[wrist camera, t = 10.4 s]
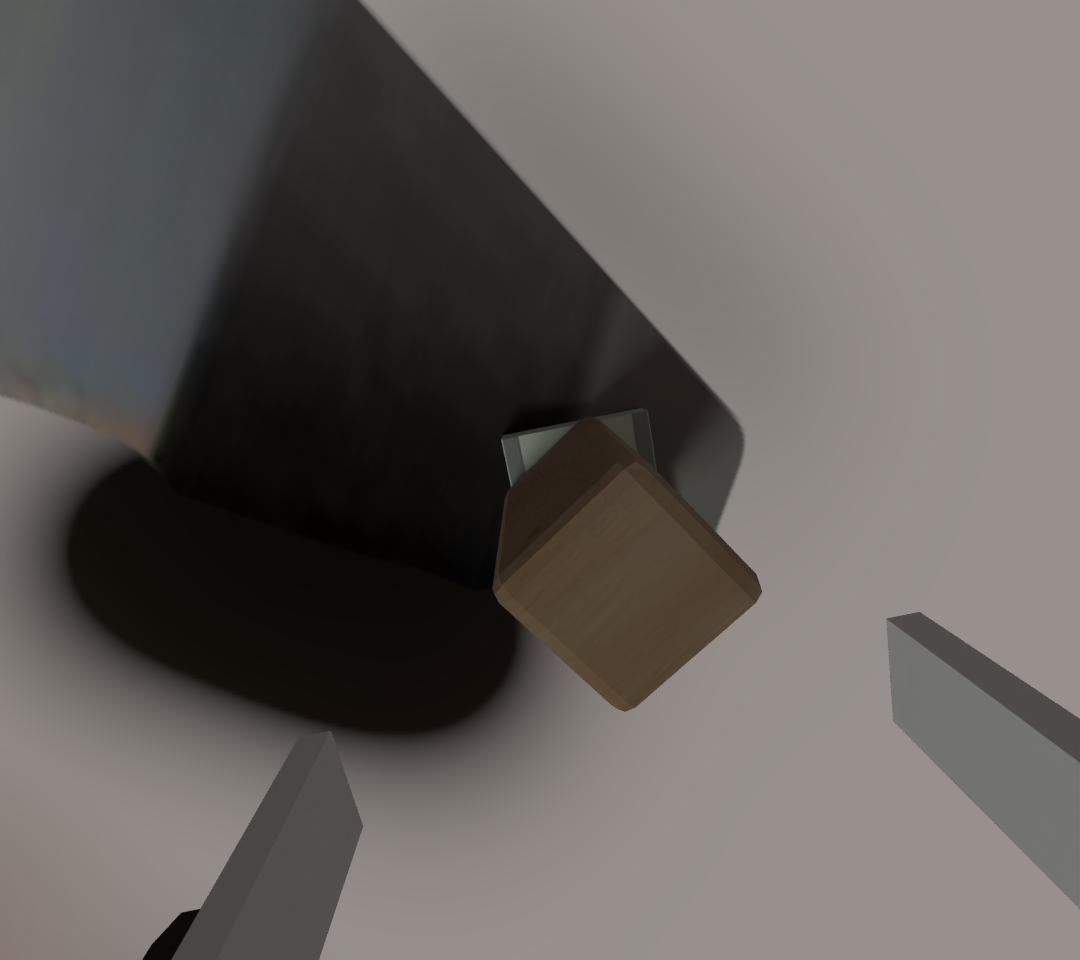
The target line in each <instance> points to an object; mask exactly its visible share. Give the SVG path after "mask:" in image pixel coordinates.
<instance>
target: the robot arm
mask: <svg viewBox="0 0 1080 960" xmlns="http://www.w3.org/2000/svg"><path fill="white" fill-rule="evenodd" d="M886 620H887V635H888V650H889V665H890V681H891V696H892V712H893V721H894V722H895V723H896V724H897V725H898V726H899V727H900V728H901V729H902V730H903V731H904V732H905V733H906V734H907V735H908V736H909V737H910V738H911V739H912V740H913V741H914V742H915V743H916V744H917V745H918V746H919V747H920V748H921V750H923V752H925V753H926V754H927V755H928V757H929V758H930V759H931V760H933V762H934V763H936V764H937V766H938V767H939V768H940V769H941V770H942V771H943V772H944V773H945V774H946V775H947V776H948V777H949V778H950V779H951V780H952V781H953V782H954V783H955V784H956V785H957V786H958V787H959V788H960V789H961V790H962V791H963V792H965V794H966V795H967V796H968V797H969V798H970V799H971V800H972V801H973V802H974V803H975V804H976V805H977V806H978V807H979V808H980V809H981V810H982V811H983V812H984V813H985V814H986V815H987V816H988V817H989V818H990V819H991V820H992V821H993V822H994V823H995V824H996V825H997V826H998V827H999V828H1000V829H1001V830H1002V831H1003V832H1004V833H1005V834H1006V835H1007V836H1008V837H1009V838H1010V839H1011V840H1012V841H1013V842H1014V843H1015V844H1016V845H1017V846H1018V847H1019V848H1020V849H1021V850H1022V851H1023V852H1024V853H1025V854H1026V855H1027V856H1028V857H1029V858H1030V859H1031V860H1032V861H1033V862H1034V863H1035V864H1036V865H1037V866H1038V867H1039V868H1040V869H1041V870H1042V871H1043V872H1044V873H1045V874H1046V875H1047V876H1048V877H1049V878H1050V879H1051V880H1052V881H1053V882H1054V883H1055V885H1057V887H1058V888H1059V889H1060V890H1062V891H1063V893H1064V894H1065V895H1066V896H1067V897H1069V898H1070V900H1071V901H1072V902H1073V903H1074V904H1075V905H1076V906H1077V907H1078V908H1079V909H1080V719H1079V718H1078V717H1076V716H1075V715H1073V714H1071V713H1070V712H1069V711H1067V710H1066V709H1064V708H1063V707H1061V706H1060V705H1058V704H1057V703H1055V702H1054V701H1052V700H1051V699H1049V698H1048V697H1046V696H1045V695H1043V694H1042V693H1040V692H1039V691H1037V690H1036V689H1034V688H1033V687H1031V686H1030V685H1028V684H1027V683H1025V682H1024V681H1022V680H1021V679H1019V678H1018V677H1016V676H1015V675H1013V674H1012V673H1010V672H1009V671H1007V670H1005V669H1004V668H1003V667H1001V666H1000V665H998V664H997V663H995V662H994V661H992V660H991V659H989V658H988V657H986V656H985V655H983V654H982V653H980V652H979V651H977V650H975V649H974V648H973V647H971V646H970V645H968V644H966V643H965V642H964V641H962V640H961V639H959V638H958V637H956V636H955V635H953V634H952V633H950V632H949V631H947V630H946V629H944V628H943V627H941V626H940V625H938V624H937V623H935V622H934V621H932V620H931V619H929V618H928V617H926V616H925V615H923V614H922V613H920V612H918V613H912V614H907V615H903V616H897V617H892V618H887V619H886ZM362 828H363V825H362V822H361V819H360V816H359V813H358V810H357V807H356V804H355V801H354V799H353V796H352V792H351V790H350V787H349V784H348V781H347V778H346V775H345V772H344V769H343V766H342V763H341V761H340V757H339V754H338V752H337V749H336V746H335V743H334V740H333V737H332V734H331V731H328V732H323V733H318V734H313V735H308V736H303V737H299V738H298V740H297V741H296V743H295V745H294V747H293V748H292V750H291V752H290V754H289V755H288V757H287V759H286V760H285V762H284V764H283V766H282V767H281V769H280V771H279V773H278V775H277V776H276V778H275V780H274V781H273V783H272V785H271V787H270V788H269V790H268V792H267V794H266V796H265V797H264V799H263V801H262V803H261V804H260V806H259V808H258V809H257V811H256V813H255V815H254V816H253V818H252V820H251V822H250V823H249V825H248V827H247V829H246V830H245V832H244V834H243V836H242V837H241V839H240V841H239V843H238V844H237V846H236V848H235V850H234V851H233V853H232V855H231V857H230V858H229V860H228V862H227V864H226V866H225V867H224V869H223V871H222V872H221V874H220V876H219V878H218V879H217V881H216V883H215V885H214V886H213V888H212V890H211V892H210V894H209V895H208V897H207V899H206V900H205V902H204V904H203V906H202V907H201V909H198V910H193V911H188V912H183V913H181V914H180V915H179V916H178V917H177V918H176V919H175V920H174V921H173V922H172V923H171V925H169V927H168V928H167V929H166V930H165V931H164V932H163V933H162V934H161V935H160V936H159V937H158V938H157V940H156V941H155V942H154V943H153V944H152V945H151V947H150V948H149V950H148V951H147V953H146V955H145V956H144V958H143V960H319V958H320V955H321V951H322V949H323V946H324V942H325V940H326V936H327V934H328V931H329V928H330V924H331V921H332V918H333V915H334V912H335V909H336V906H337V903H338V900H339V897H340V894H341V891H342V888H343V885H344V882H345V879H346V876H347V873H348V870H349V867H350V864H351V861H352V858H353V855H354V852H355V849H356V846H357V843H358V840H359V837H360V834H361V831H362Z"/></svg>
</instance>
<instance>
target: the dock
mask: <svg viewBox="0 0 1080 960" xmlns="http://www.w3.org/2000/svg"><path fill="white" fill-rule="evenodd" d="M594 418H597V419H599V420H600V421H601V422H602V423H603V424H605V425H606V426H607V427H608V428H609V429H610V430H612V431H613V432H614V433H615V434H616V435H617V436H619V437H620V438H621V439H622V440H623V441H624V442H626V443H627V444H628V445H629V446H630V447H631V448H633V449H634V450H635V451H636V452H637V453H638V454H640V455H641V456H642V457H643V458H644V459H645V460H647V461H648V462H649V463H650V464H651V465H652V466H653V467H654V468H655V470H656V471H657V468H656V462H655V455H654V448H653V442H652V435H651V428H650V422H649V415H648V411H647V410H645V409H643V408H639V409H634V410H629V411H623V412H618V413H613V414H608V415H603V416H598V417H594ZM578 421H579V420H578ZM578 421H573V422H568V423H562V424H557V425H552V426H547V427H542V428H537V429H532V430H527V431H522V432H517V433H512V434H507V435H502V439H501V441H502V445H503V450H504V455H505V460H506V464H507V469H508V474H509V478H510V483H511V487H512V486H513V485H514V484H515V483H516V482H517V481H518V480H519V479H520V478H521V477H522V476H523V475H524V474H525V473H526V472H527V471H528V470H529V469H530V468H531V467H532V466H533V465H534V464H536V463H537V462H538V461H539V460H540V459H541V458H542V457H543V456H544V455H545V454H546V453H547V452H548V451H549V450H550V449H551V448H552V447H553V446H554V445H555V444H556V443H557V442H558V441H559V440H560V439H561V438H562V437H563V436H564V435H565V434H566V433H567V432H568V431H569V430H570V429H571V428H572V427H573V426H574V425H575V424H576V423H577V422H578Z"/></svg>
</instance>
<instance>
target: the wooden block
mask: <svg viewBox="0 0 1080 960" xmlns="http://www.w3.org/2000/svg"><path fill="white" fill-rule="evenodd" d="M493 591H494V593H495V595H496V597H497V600H498V602H499V603H500V604H501V605H502V606H503V607H504V608H506V609H507V610H508V611H509V612H510V613H511V614H512V615H514V617H515V618H516V619H518V620H519V621H520V622H521V623H522V624H523V625H524V626H525V627H526V628H527V629H529V630H530V631H531V632H532V633H533V634H534V635H535V636H536V637H537V638H538V639H540V640H541V641H542V642H543V643H544V644H545V645H546V646H547V647H548V648H549V649H550V650H552V651H553V652H554V653H555V654H556V655H557V656H558V657H559V658H560V659H561V660H563V661H564V662H565V663H566V664H567V665H568V666H569V667H570V668H571V669H573V670H574V671H575V672H576V673H577V674H578V675H579V676H580V677H581V678H582V679H583V680H585V681H586V682H587V683H588V684H589V685H590V686H591V687H592V688H593V689H594V690H595V691H597V692H598V693H599V694H600V695H601V696H602V697H603V698H604V699H605V700H606V701H608V702H609V703H610V704H611V705H613V706H614V707H615V708H617V709H620V710H622V711H624V712H625V711H628V710H630V709H632V708H635V707H636V706H638V705H639V704H640V703H641V702H642V701H643V700H644V699H646V698H647V697H648V696H649V695H650V694H651V693H652V692H654V691H655V690H656V689H657V688H658V687H659V686H660V685H662V684H663V683H664V682H665V681H666V680H667V679H669V678H670V677H671V676H672V675H673V674H674V673H676V672H677V671H678V670H679V669H680V668H681V667H682V666H684V665H685V664H686V663H687V662H688V661H689V660H691V658H693V657H694V656H695V655H696V654H697V653H698V652H700V651H701V650H702V649H703V648H704V647H706V646H707V645H708V644H709V643H710V642H711V641H712V640H714V639H715V638H716V637H717V636H718V635H719V634H720V633H722V632H723V631H724V630H725V629H726V628H727V627H728V626H730V625H731V624H732V623H733V622H734V621H735V620H736V619H738V618H739V617H740V616H741V615H742V614H744V613H745V612H746V611H747V610H748V609H749V608H750V607H752V606H753V605H754V604H755V603H756V602H757V600H758V598H759V596H760V595H761V593H762V590H761V587H760V584H759V581H758V578H757V575H756V573H755V572H754V571H753V570H752V569H751V568H750V567H749V566H748V565H747V564H746V563H745V562H744V561H743V560H742V559H741V558H740V557H739V556H738V555H737V554H736V553H735V552H734V551H733V550H732V549H731V547H729V545H727V543H726V542H725V541H724V540H723V539H722V538H721V537H720V536H719V535H718V534H717V533H716V532H715V531H714V530H713V529H712V528H711V527H710V526H709V525H708V524H707V522H706V521H705V520H704V519H703V518H702V517H701V516H700V515H699V514H698V513H697V512H696V511H695V510H694V509H693V508H692V507H691V506H690V505H689V504H688V503H687V502H686V501H685V500H684V499H683V498H682V497H681V495H680V494H679V493H678V492H677V491H676V490H675V489H674V488H673V487H672V486H671V485H670V484H669V483H668V482H667V481H666V480H665V479H664V478H663V477H662V476H661V475H660V474H659V473H658V472H657V471H656V470H655V468H654V467H653V466H652V465H651V464H650V463H649V462H648V461H647V460H645V459H644V458H643V457H642V456H641V455H640V454H638V453H637V452H636V451H635V450H634V449H633V448H631V447H630V446H629V445H628V444H627V443H626V442H624V441H623V440H622V439H621V438H620V437H619V436H617V435H616V434H615V433H614V432H613V431H612V430H610V429H609V428H608V427H607V426H606V425H605V424H603V423H602V422H601V421H600V420H599V419H597V418H594V417H592V416H587V417H585V418H583V419H580V420H579V421H578V422H577V423H576V424H575V425H574V426H573V427H572V428H571V429H570V430H569V431H568V432H567V433H566V434H565V435H564V436H563V437H562V438H561V439H560V440H559V441H558V442H557V443H556V444H555V445H554V446H553V447H552V448H551V449H550V450H549V451H548V452H547V453H546V454H545V455H544V456H543V457H542V458H541V459H540V460H539V461H538V462H537V463H536V464H534V465H533V466H532V467H531V468H530V469H529V470H528V471H527V472H526V473H525V474H524V475H523V476H522V477H521V478H520V479H519V480H518V481H517V482H516V483H515V484H514V485H513V486H512V487H511V488H510V489H509V490H508V493H507V495H506V498H505V503H504V511H503V518H502V525H501V532H500V539H499V547H498V554H497V561H496V568H495V575H494V582H493Z"/></svg>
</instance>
